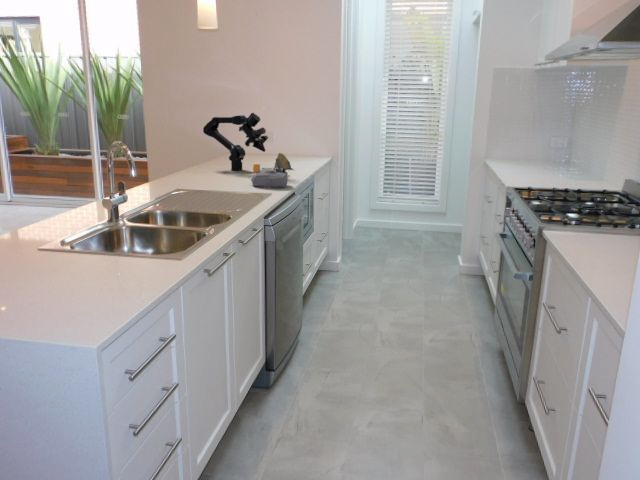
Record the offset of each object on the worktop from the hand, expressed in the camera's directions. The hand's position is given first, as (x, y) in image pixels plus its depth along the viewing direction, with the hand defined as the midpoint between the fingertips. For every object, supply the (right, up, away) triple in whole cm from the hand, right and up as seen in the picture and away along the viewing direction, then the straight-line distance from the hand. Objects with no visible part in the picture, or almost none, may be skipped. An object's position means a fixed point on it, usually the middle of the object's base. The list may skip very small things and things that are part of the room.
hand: (264, 151), depth 345 cm
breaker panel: (+5, -13, +3) cm, 15 cm away
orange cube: (-6, -12, +8) cm, 15 cm away
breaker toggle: (+10, -12, -2) cm, 16 cm away
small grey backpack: (+6, -25, -38) cm, 46 cm away
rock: (+10, -8, +25) cm, 28 cm away
